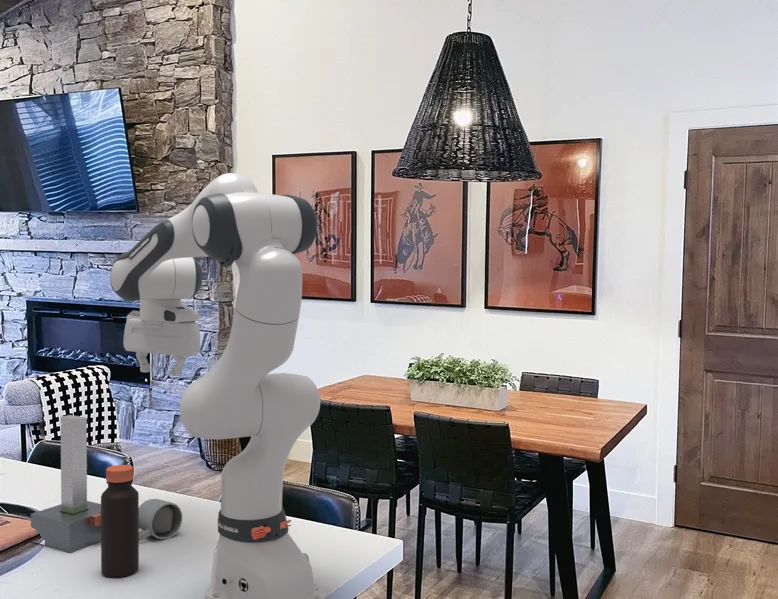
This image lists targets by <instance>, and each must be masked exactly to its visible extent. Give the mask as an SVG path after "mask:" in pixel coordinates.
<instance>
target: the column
mask: <svg viewBox="0 0 778 599" xmlns="http://www.w3.org/2000/svg"><path fill="white" fill-rule="evenodd" d="M87 420H88V417H86V416H85V417H84V416H79V415H72V414H68V415H64V416H60V491H61V492H60V498H61V500H60V502H61V503H60V504H61V513H65V514H69V515H75V514H78V513H81V512H84V511H87V501H88V472H87V470H88V463H87V462H88V458H87V457H88V451H87V450H88V449H87V447H88V445H87V440H88V438H87V436H88V434H87V427H88V426H87V423H88V421H87Z"/></svg>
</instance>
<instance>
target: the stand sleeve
mask: <svg viewBox="0 0 778 599" xmlns="http://www.w3.org/2000/svg"><path fill="white" fill-rule="evenodd" d="M31 527H32V528H34V529H36V531H38V533H39V534H40V536H41V537H42V538H44V540H45V546H44V547H47V548H51V549H54V550H58V551H61V552H65V553H68V554H71V553H73V552H76V551H79V550H81V549H85V548H86V547H89V546H92V545H94V544H96V543H99V542H100V543H101V503H98V502H94V501H89V500H87V511H84V512H81V513H78V514H75V515H69V514H65V513H61V503H60V504H57V505H54V506H51V507H48V508H46V509H42V510H39V511H35V512H32V513H30V528H31Z"/></svg>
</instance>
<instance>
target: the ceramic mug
mask: <svg viewBox="0 0 778 599" xmlns="http://www.w3.org/2000/svg"><path fill="white" fill-rule="evenodd" d="M182 523H183V512H182V510H181V508H180V507H179V505H178V504H177V503H174V502H170V501H166V500H162V499H159V498H150V499H148V500H145V501H143V502H142V503H141V504H139V529H140V530H141V531H142V532H139V542H141V541H143V540H145V539H147V538H148V537H150V536H152V537H153V538H156V539H158V540H163V539H164V540H168V539H171V538H172V537H174V536H175V535H177V533H178V532H179V530H180V529H181V527H182Z"/></svg>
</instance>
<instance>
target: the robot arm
mask: <svg viewBox="0 0 778 599" xmlns="http://www.w3.org/2000/svg"><path fill="white" fill-rule="evenodd" d="M317 218H318V217H317V215H316V212H315V210H314V208H313V206H312V205H311V204H310V202H309V201H308V200H306V199H304V198H302V197H299V196H295V195H292V194H270V193H260V192H259V191H258V188H257V187H256V185H255V184H254V183H253V182H252V181H251V180H250V179H249V178H248V177H247V176H244V175H242V174H240V173H235V172H228V173H223V174H221V175H219V176H217V177H216V178H215V179H213V180H212V181H210V182H209V183H207V185H206V186H205V187H204V188H203V189H202V190H201V191H200V193H199V194H197V196H196V197H195V199H194V200H193V201H192V202H191V203H190V204H189V205H188V206H187V207H185V208H184V209H183V210H182V211H180V212H179V213H177V214H175V215H173V216H172V217H170V218H168V219H165V220H163V221H162V222H160V223H158V224H156V225H155V226H154V227H152V228H151V230H149V231H148V232H147V233H146V234H145V235H144V236H143V237H142V238H141V239H140V240H139V241H138V242H137V243H136V244H135V245H134V246H133V247H131V249H130V250H129V251H127V252H123V253H122V254H120V255H119V256H118V257H117V258H116V259H114V262H113V263H112V265H111V269H110V276H109V277H110V280H109V281H110V286H111V289H112V291H113V292H114V293H115V294H116V295H117V296H118V297H119V298H121V299H122V300H123V301H125V302H127V303H128V302H138V301H139V310H132V311H131V312H128V314H127V315H126V323H125V325H124V326H125V327H124V333H123V342H122V343H123V348H124V350H125V351H127V352H134V353H135V357H136V360H137V361H138V363H139V365H140V366H139V367H140V368H139V370H140V372H141V373H150V372H151V367H152V364H151V363H149V361H148V359H147V356H148V354H154V355H155V354H156V355H166V356H167V355H169V356H174V361H175V364H174V366H173V367H171V368H170V371H171V372H170V374H171V376H175V377H180V376H182V374H183V366H184V365H185V363H186V361H187V357H194V356H197V355H198V354H199V352H200V350H201V329H200V325H199V324H198V321H199V320H200V314H199V312H198V311H197V310H195V309H194V308H191V307H190V306H187V305H185V304H184V303H182V300H185V299H189V298H193V297H194V296H195V295H196V294H197V293H199V291H200V289H201V288H202V285H203V267H202V265H201V264H200V262H198V260H197V259H196V258H207V257H208V258H209V257H210V258H212V259H214V260H216V261H217V262H218V264H219V266H220V267H222V268H229V267H231V266H232V265H233V263H235V265H236V267H237V269H238V273H239V281H238V282H239V283H238V288H237V294H236V298H235V305H234V313H233V317H232V318H233V319H232V323H231V328H230V333H229V336H228V341H227V344H226V347H225V348H224V351H223V352H222V354H221V355H220V357H219V359H217V361H216V363H215V364H214V365H213V366H212V367H211V368H210V369H209V370H208V371H207V372H206V373H205V374H203V376H201V377H200V378H198V379H196V380H195V381H193V382H191V383H190V384H189V385H188V386H187V387H186V389H185V390H184V392H183V393H182V396H181V397H180V402H179V417H180V421H181V424H182V426H183V428H185V430H186V432H188V433H189V434H190V435H191V436H192V437H194V438H200V439H201V438H202V439H208V440H209V439H210V440H227V439H237V438H245V437H250V439H249V442H248V443H247V445H246V447H245V448H244V449H243V450H242V451H241V452H240V453H238V454H237V455H235V456H233V457H232V458H230V460H228V461H227V463H225V465H224V466H223V469H222V471H221V472H220V509H219V511H218V516H217V532H218V533H219V538H218V542H217V544H216V547H215V549H214V551H213V554H212V566H211V575H210V587H209V590H207V591H206V593H205V596H204V599H328V594H327V592H326V591H325V590H323V589H322V588H320V587H319V585H317V584H315V583H314V573H313V568H312V564H311V563H310V557H309V555H308V553H306V552H302V550H301V549H300V548H299V546H298V545H297V543H296V542H295V541H294V539H293V537H292V536H291V535H290V533H289V527H291V526H292V525H291V524H289V523H291V522H292V519H288V520H287V515H286V512H285V509H284V508H283V485H284V475H285V468H286V467H285V466H286V463H287V461H288V458H289V455H290V452H291V450H293V447H294V445H295V443H296V442H297V440H298V439H299V437H300V436H301V435H302V434H303V433H305V431H306V430H307V429H308V428H309V427H311V426H312V424H313V423H315V421H316V419H317V417H318V415H319V412H320V408H321V396H320V391H319V390H318V387H317V385H316V384H315V382H314V381H313V380H312V379H311V378H310V377H308V376H307V375H300V374H297V373H296V374H295V373H288V372H287V373H286V372H278V373H271V372H272V371H274V370H276V369H278V368H279V367H280V366H282V365H284V363H286V362H287V361H288V360H289V359H290V357H291V355H292V353H293V351H294V348H295V346H294V345H295V342H296V341H295V340H296V335H297V331H298V330H297V329H298V324H299V319H300V314H301V313H300V312H301V307H302V298H303V297H302V296H303V268H302V264H301V261H300V259H299V258H298V257H297V256H296V254H299V253H303V252H305V251H307V250H309V249H310V248H311V247H312V245H313V243H314V241H315V239H316V236H317V231H318V220H317Z"/></svg>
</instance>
